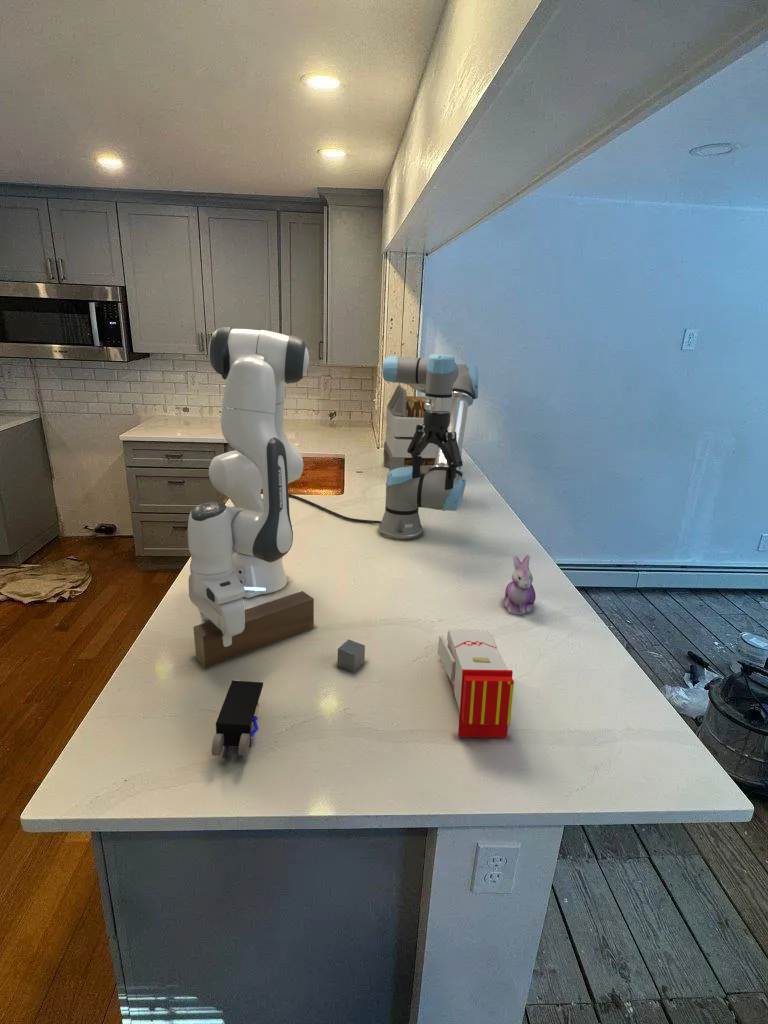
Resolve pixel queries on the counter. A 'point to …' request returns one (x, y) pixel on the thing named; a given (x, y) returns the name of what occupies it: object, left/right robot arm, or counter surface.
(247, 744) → the black wheeled block
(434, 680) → the counter surface
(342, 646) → the slate block
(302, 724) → the counter surface
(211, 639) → the walnut plank
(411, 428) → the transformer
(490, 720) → the toy
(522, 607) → the figurine
